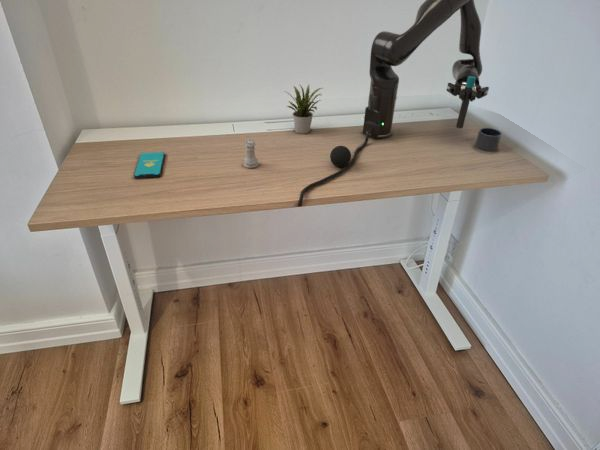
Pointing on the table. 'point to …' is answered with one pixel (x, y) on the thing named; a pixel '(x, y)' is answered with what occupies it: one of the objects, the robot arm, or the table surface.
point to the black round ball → (340, 156)
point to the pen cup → (488, 139)
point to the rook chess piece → (250, 155)
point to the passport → (149, 165)
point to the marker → (465, 101)
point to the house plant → (303, 110)
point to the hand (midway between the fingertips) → (467, 97)
